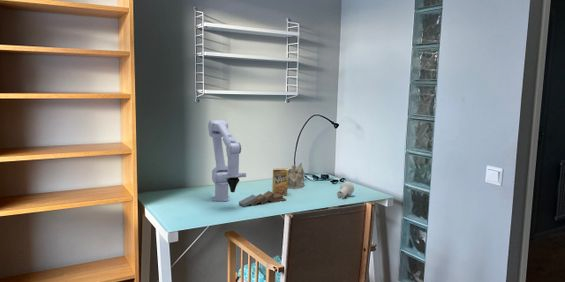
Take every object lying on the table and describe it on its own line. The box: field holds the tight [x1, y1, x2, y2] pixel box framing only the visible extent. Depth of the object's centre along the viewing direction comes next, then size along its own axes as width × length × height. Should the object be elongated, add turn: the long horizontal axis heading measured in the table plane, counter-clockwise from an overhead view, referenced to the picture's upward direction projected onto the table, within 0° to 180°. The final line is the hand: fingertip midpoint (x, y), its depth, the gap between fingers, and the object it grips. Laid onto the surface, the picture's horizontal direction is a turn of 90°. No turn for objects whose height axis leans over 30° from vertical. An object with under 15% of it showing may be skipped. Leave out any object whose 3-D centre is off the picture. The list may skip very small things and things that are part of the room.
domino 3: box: [258, 190, 274, 205], centre depth 230 cm, size 2×5×9 cm
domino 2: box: [248, 193, 266, 207], centre depth 227 cm, size 2×5×9 cm
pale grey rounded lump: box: [336, 181, 355, 199], centre depth 248 cm, size 8×11×8 cm
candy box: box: [271, 167, 289, 196], centre depth 246 cm, size 9×4×15 cm, turn 92°
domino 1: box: [238, 194, 258, 208], centre depth 224 cm, size 2×5×9 cm
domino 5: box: [268, 197, 287, 204], centre depth 235 cm, size 2×5×9 cm
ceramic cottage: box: [287, 162, 305, 190], centre depth 269 cm, size 16×16×15 cm
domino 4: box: [268, 194, 284, 202], centre depth 235 cm, size 2×5×9 cm
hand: (232, 191), depth 218 cm, fingers closed
